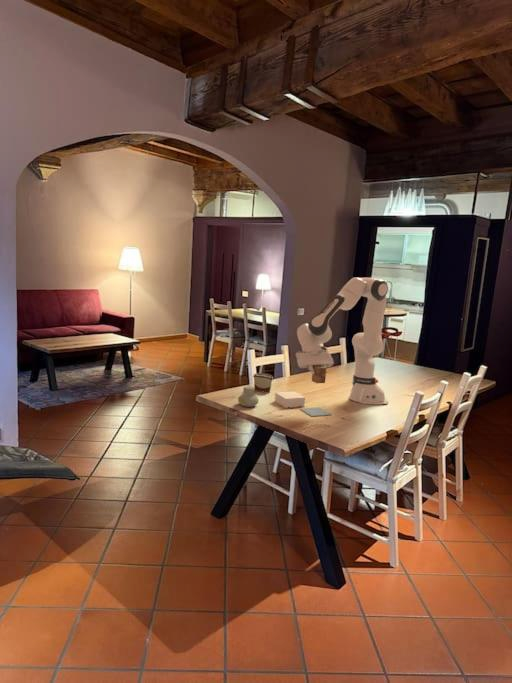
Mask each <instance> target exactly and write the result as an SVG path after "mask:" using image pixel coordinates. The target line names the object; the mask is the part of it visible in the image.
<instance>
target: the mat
mask: <svg viewBox="0 0 512 683" xmlns="http://www.w3.org/2000/svg"><path fill="white" fill-rule="evenodd" d="M299 410H300V411H302V412H303V413H305V414H306V413H307V415H308V416H310V417H312V418H314V417H326V415H327V416H332V413H330V412H329V411H327V410H326V409H323V408H322V407H319V406H318V407H316V406H315V407H306V408H305V407H303V408H299Z"/></svg>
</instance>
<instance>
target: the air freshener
mask: <svg viewBox="0 0 512 683" xmlns="http://www.w3.org/2000/svg"><path fill="white" fill-rule="evenodd" d="M254 390H255V388H254V386H251V385H245V386H244V387H243V392H242V394H241V395H239V396H238V398H237V402H238V403H239V405H241V406H242V407H244V406H245V408H252V407H255V406H257V405H258V404H259V398H258V396H257V395H255V391H254Z"/></svg>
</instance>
